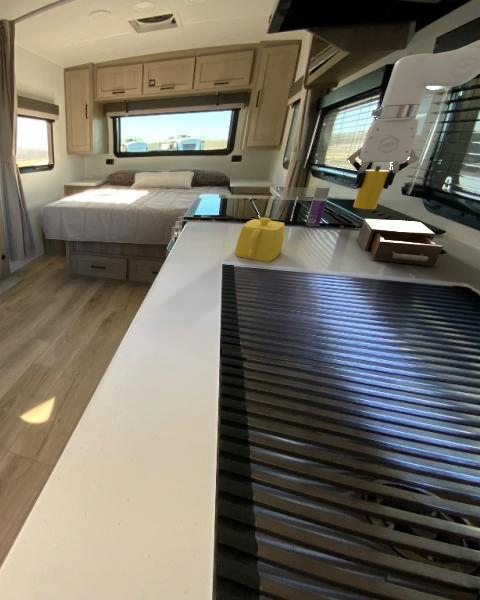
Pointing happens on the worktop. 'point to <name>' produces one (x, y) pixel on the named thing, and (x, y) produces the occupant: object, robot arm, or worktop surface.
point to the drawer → (404, 248)
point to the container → (317, 206)
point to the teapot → (260, 240)
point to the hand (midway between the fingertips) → (371, 187)
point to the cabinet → (390, 230)
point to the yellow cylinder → (371, 188)
